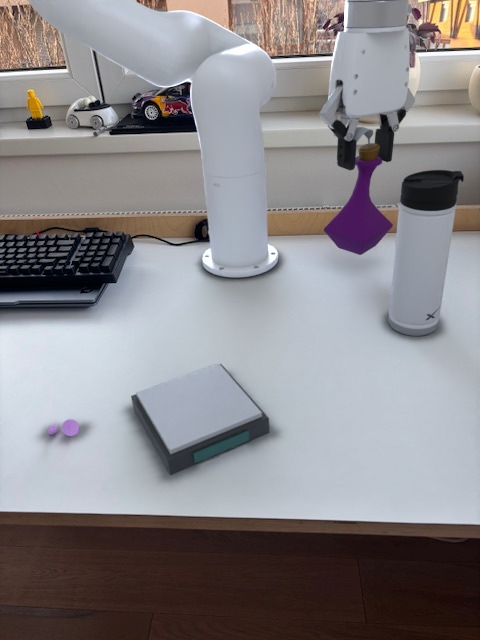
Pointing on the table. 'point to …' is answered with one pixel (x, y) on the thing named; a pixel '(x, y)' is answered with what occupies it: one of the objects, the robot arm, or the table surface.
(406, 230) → the travel mug
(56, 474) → the table surface
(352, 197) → the purple potion bottle
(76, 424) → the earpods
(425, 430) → the table surface
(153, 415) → the kitchen scale
